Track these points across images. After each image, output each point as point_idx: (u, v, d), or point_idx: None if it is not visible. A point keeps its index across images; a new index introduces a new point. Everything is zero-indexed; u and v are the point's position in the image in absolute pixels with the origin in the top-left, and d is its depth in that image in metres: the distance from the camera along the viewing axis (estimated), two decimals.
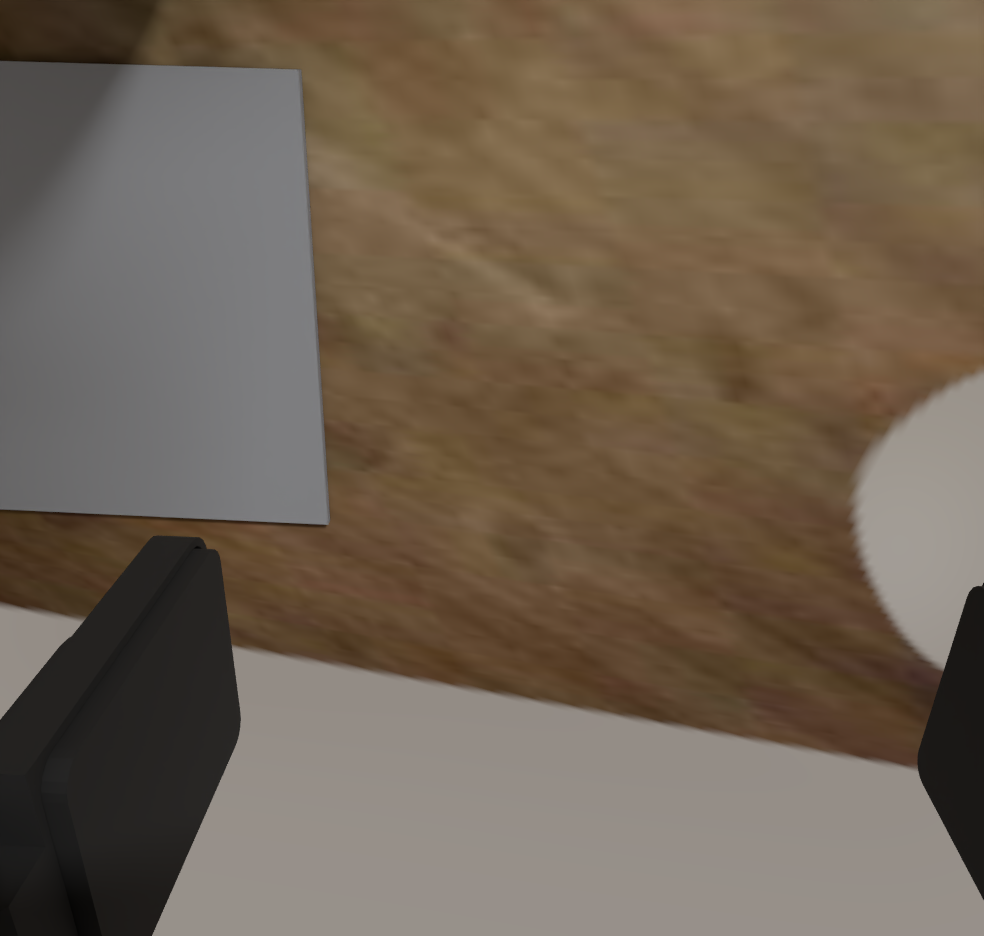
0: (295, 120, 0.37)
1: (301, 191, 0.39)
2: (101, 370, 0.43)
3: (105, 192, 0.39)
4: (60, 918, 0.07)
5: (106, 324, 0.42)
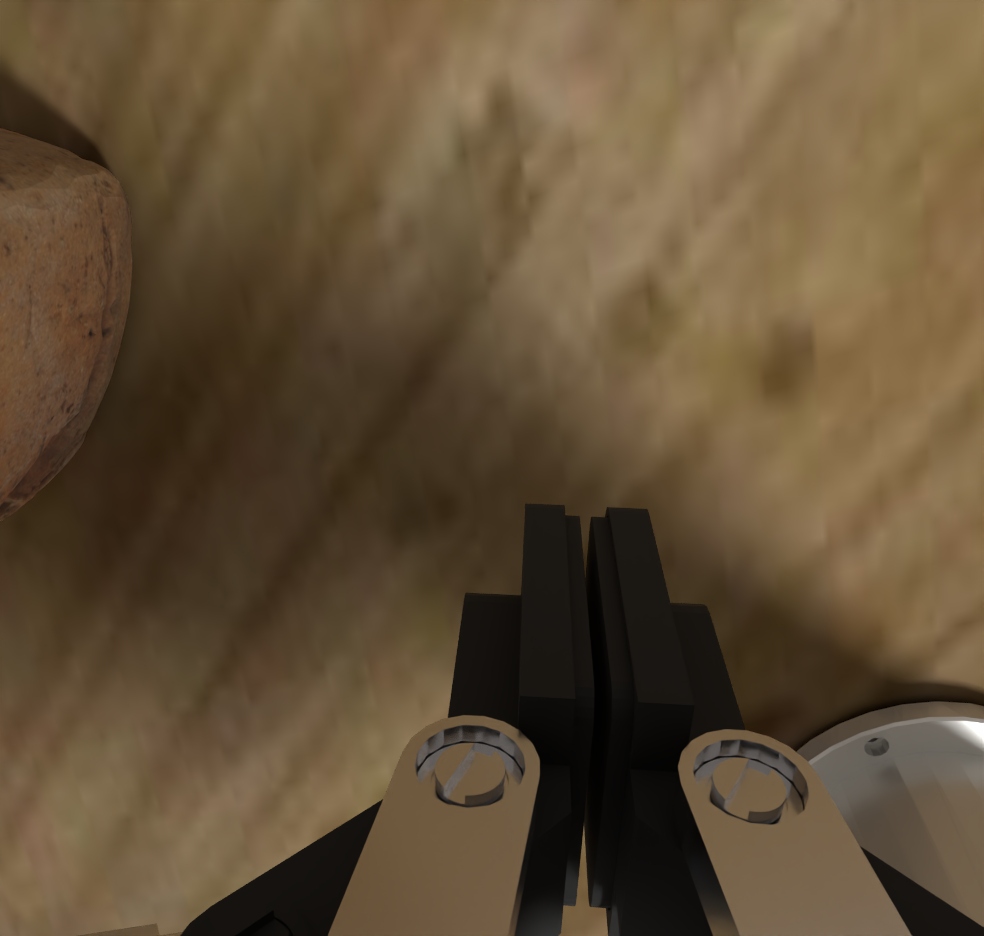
0: None
1: None
2: None
3: None
4: None
5: None
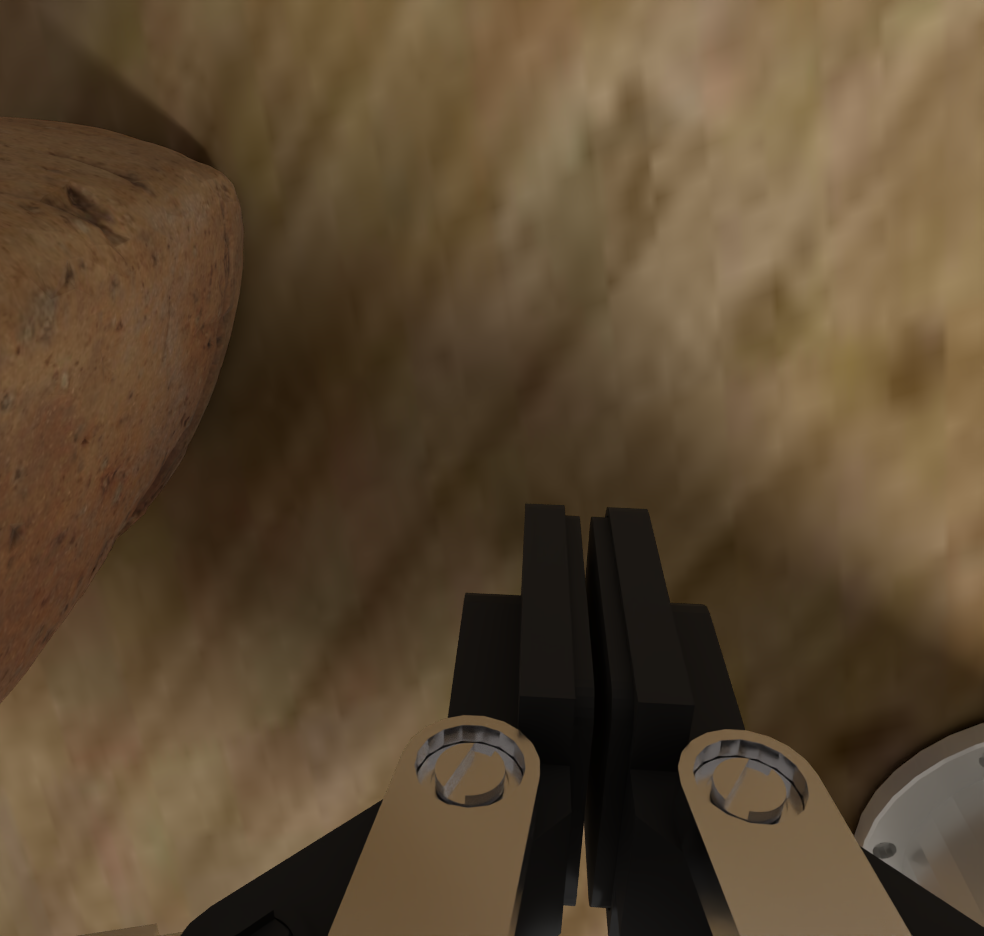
0: None
1: None
2: None
3: None
4: None
5: None
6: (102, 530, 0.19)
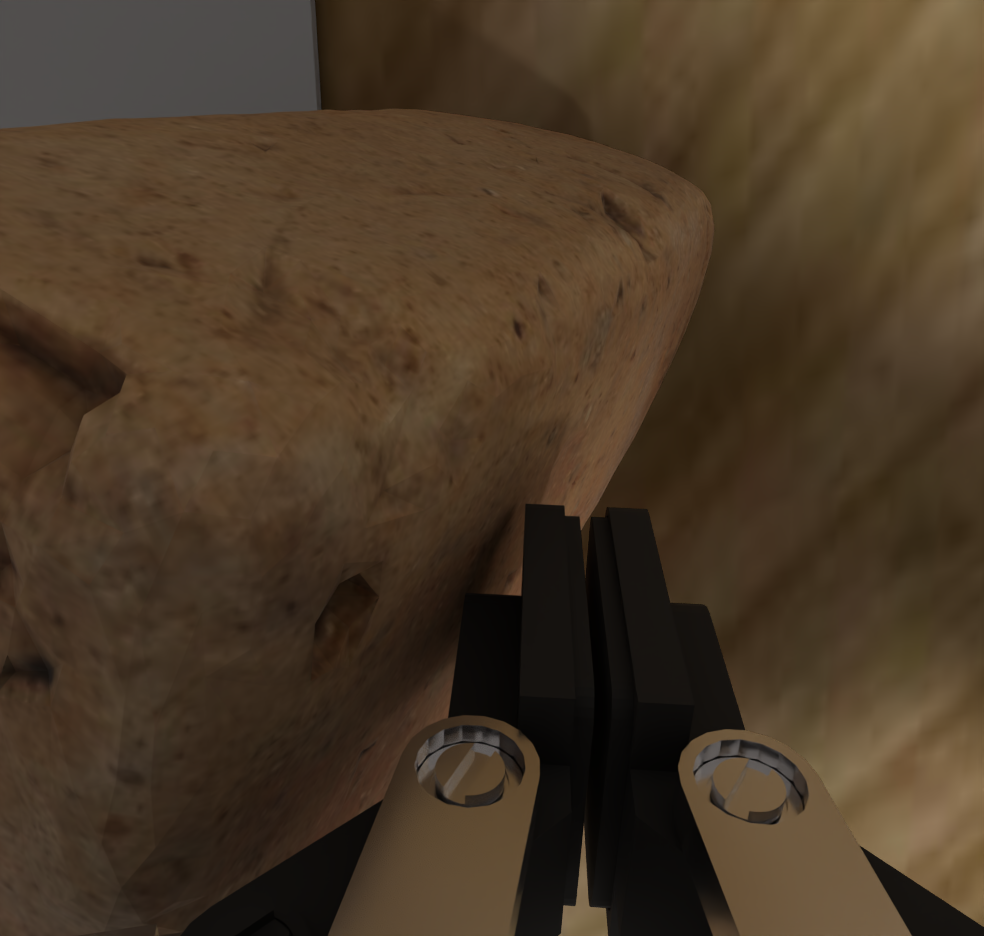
0: None
1: None
2: None
3: None
4: None
5: None
6: None
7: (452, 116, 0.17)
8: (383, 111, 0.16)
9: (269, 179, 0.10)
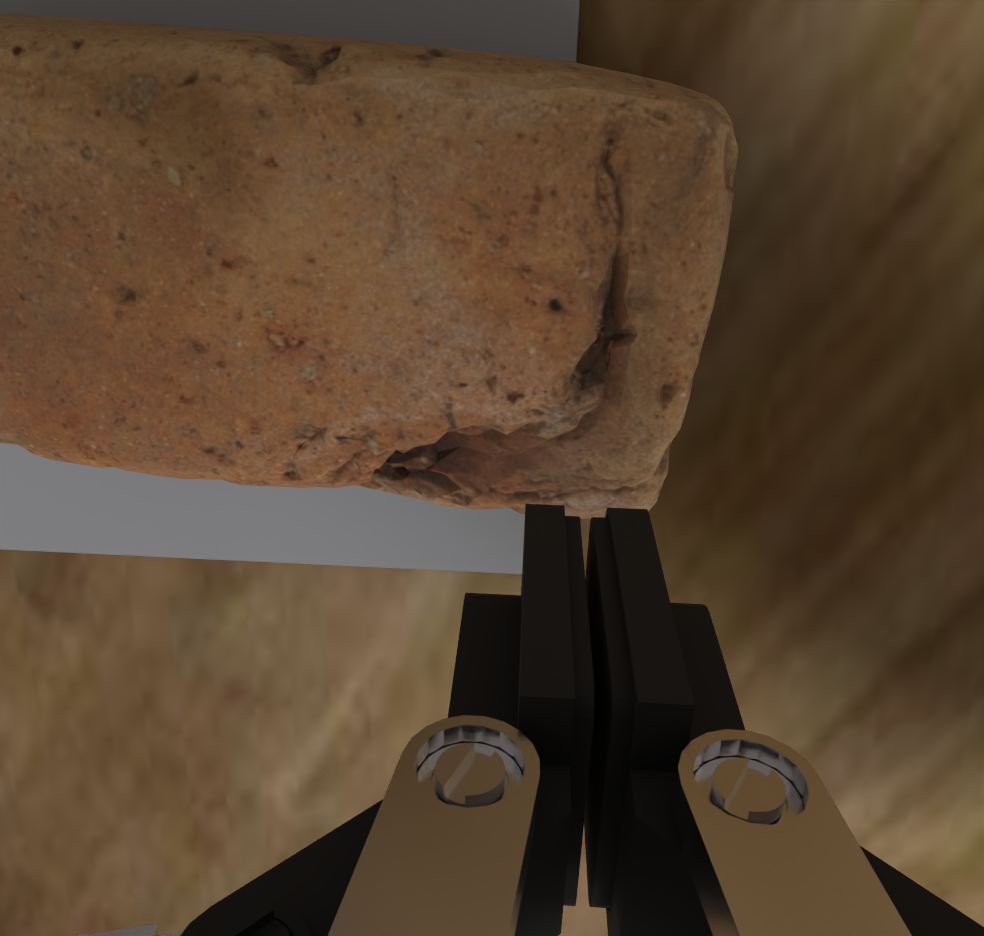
0: (486, 566, 0.29)
1: (400, 562, 0.29)
2: None
3: None
4: None
5: None
6: (284, 396, 0.19)
7: None
8: None
9: (95, 22, 0.20)
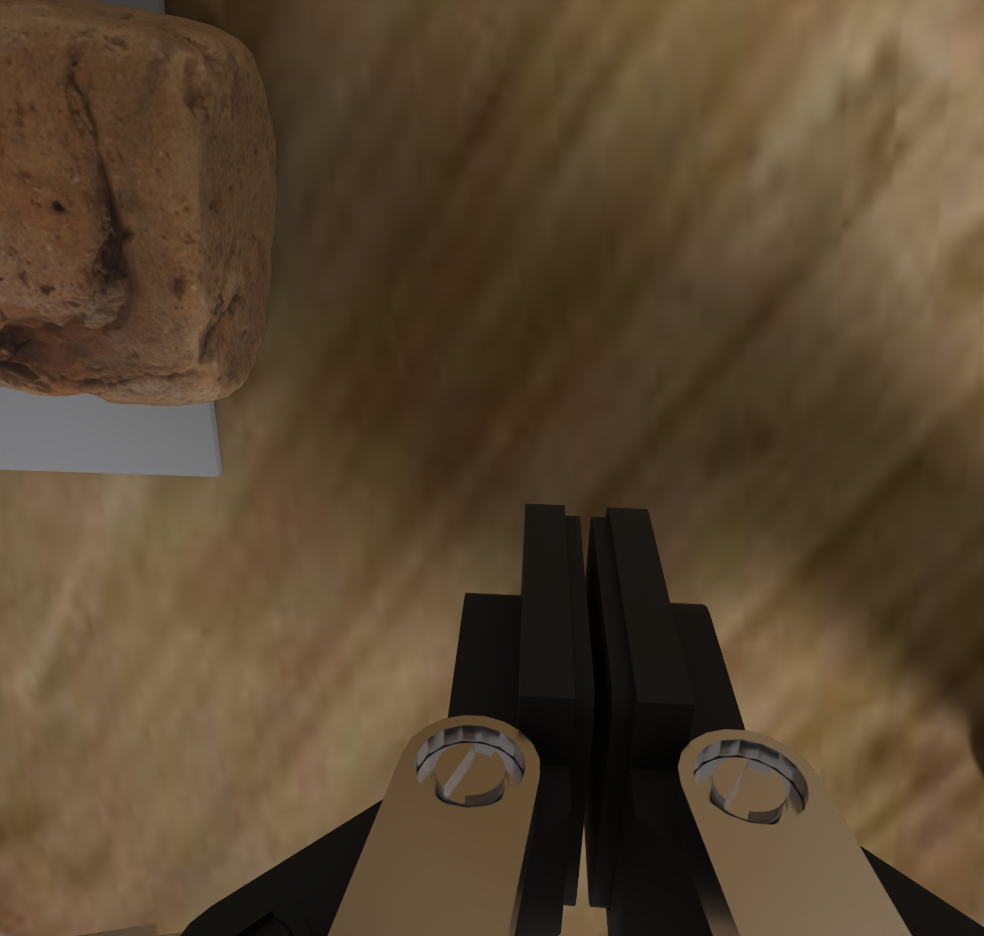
0: (164, 469, 0.32)
1: (86, 467, 0.32)
2: None
3: None
4: None
5: None
6: None
7: None
8: None
9: None
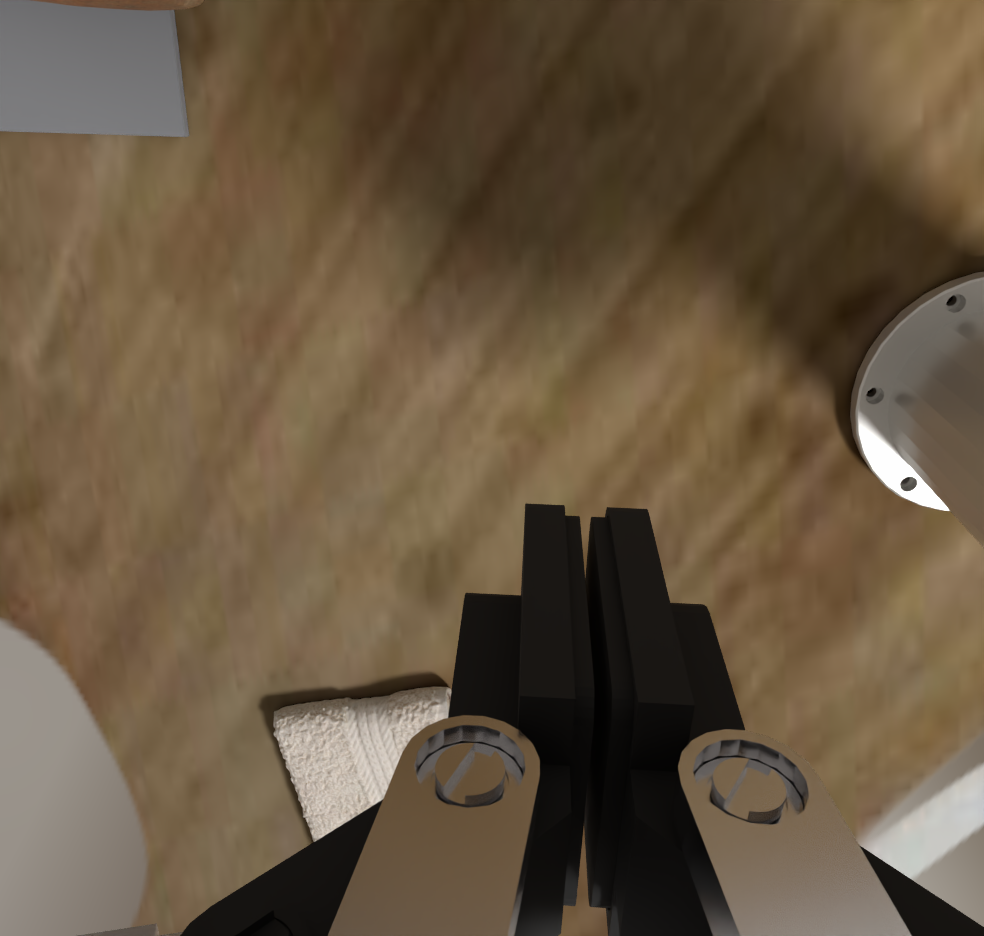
0: (141, 129, 0.40)
1: (79, 128, 0.40)
2: None
3: None
4: None
5: None
6: None
7: None
8: None
9: None
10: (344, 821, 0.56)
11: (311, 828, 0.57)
